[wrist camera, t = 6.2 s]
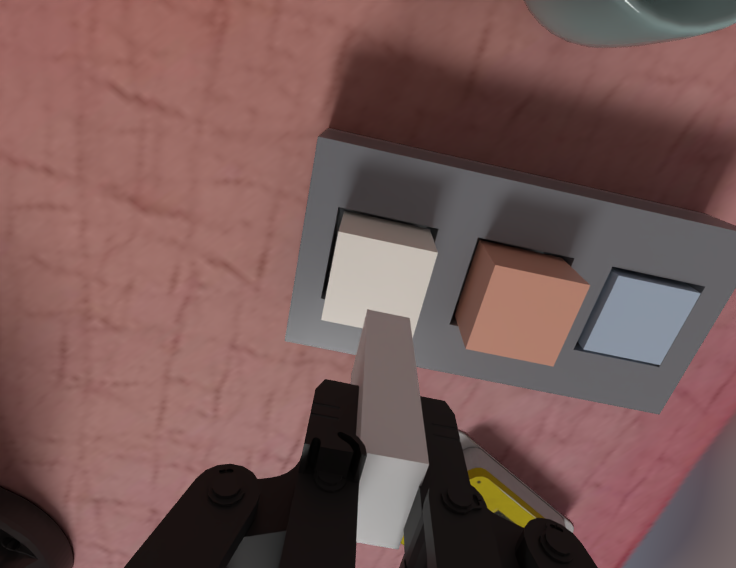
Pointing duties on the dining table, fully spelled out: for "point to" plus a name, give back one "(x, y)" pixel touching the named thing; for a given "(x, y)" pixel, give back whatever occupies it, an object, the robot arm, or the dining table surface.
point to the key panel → (519, 230)
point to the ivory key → (378, 270)
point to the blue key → (637, 316)
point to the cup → (631, 20)
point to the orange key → (518, 303)
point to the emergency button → (504, 489)
